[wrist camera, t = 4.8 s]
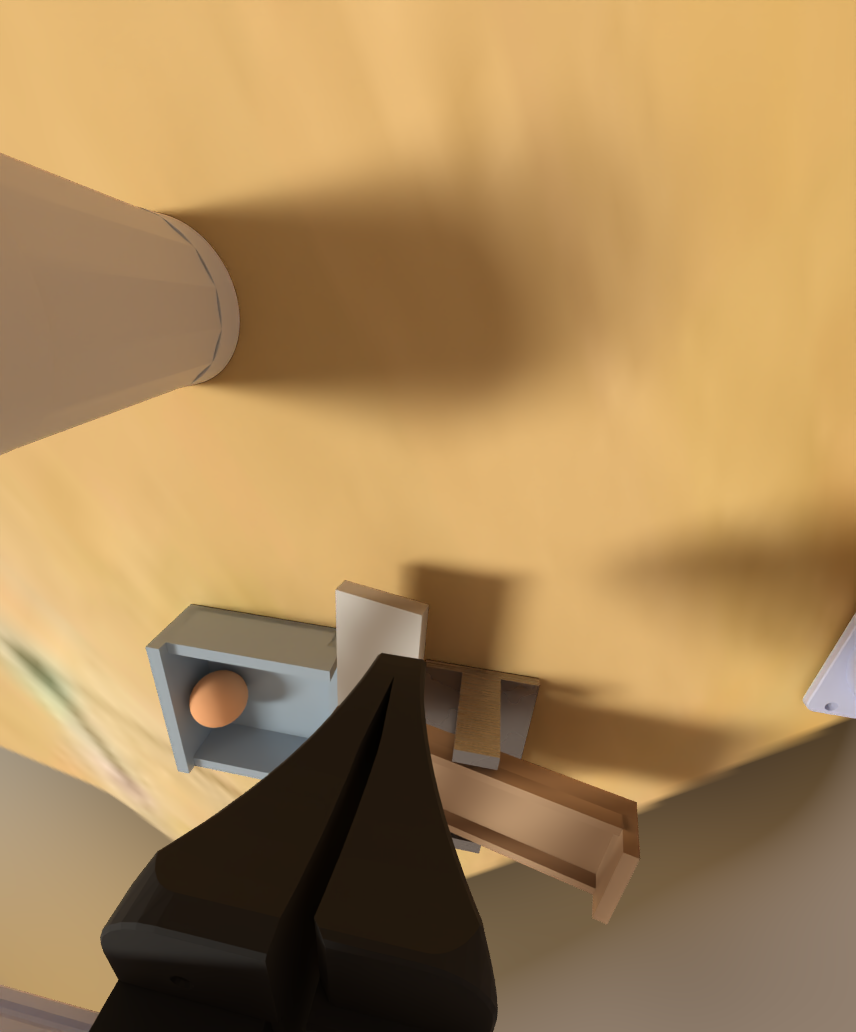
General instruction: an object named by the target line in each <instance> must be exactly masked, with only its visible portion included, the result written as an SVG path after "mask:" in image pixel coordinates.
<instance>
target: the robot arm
mask: <svg viewBox="0 0 856 1032" xmlns="http://www.w3.org/2000/svg"><path fill="white" fill-rule="evenodd" d="M426 664H427V663H426V662H425V661H424V660H423V659H417V658H411V657H405V656H398V655H392V654H386V653H381V654H379V655H378V656H377V657H376V659H375V660H374V662H373V663H372V665H371V666H370V668H369V669H368V670H367V672H366V673H365V674H364V676H363V677H362V678H361V680H360V681H359V682H358V684H357V685H356V686H355V687H354V689H353V690H352V691H351V692H350V693H349V695H348V696H347V697H346V698H345V699H344V701H343V702H342V703H341V704H340V705H339V706H338V708H337V709H336V710H335V711H334V712H333V713H332V714H331V715H330V716H329V717H328V718H327V720H326V721H325V722H324V723H323V724H322V725H321V726H320V727H319V728H318V729H317V730H316V731H315V732H314V733H313V734H312V735H311V736H310V737H309V738H308V739H307V740H306V741H305V742H304V743H303V744H302V745H301V746H300V747H299V748H298V749H297V750H296V751H295V752H293V753H292V754H291V755H290V756H289V757H288V758H287V759H286V760H285V761H284V762H282V763H281V764H280V765H279V766H278V767H276V768H275V769H274V770H273V771H272V772H270V773H269V774H268V775H267V776H266V777H265V778H263V779H262V780H261V781H260V782H258V783H257V784H256V785H255V786H253V787H252V788H251V789H249V790H248V791H247V792H245V793H244V794H243V795H241V796H240V797H239V798H237V799H236V800H234V801H233V802H232V803H230V804H229V805H228V806H226V807H225V808H223V809H222V810H221V811H219V812H218V813H217V814H215V815H214V816H212V817H211V818H209V819H208V820H206V821H205V822H203V823H202V824H200V825H199V826H197V827H195V828H194V829H192V830H191V831H189V832H188V833H186V834H184V835H183V836H181V837H180V838H178V839H177V840H175V841H173V842H172V843H170V844H169V845H167V846H166V847H164V848H162V849H161V850H159V851H158V852H157V853H156V854H155V855H154V857H153V858H152V859H151V861H150V862H149V863H148V864H147V866H146V867H145V868H144V869H143V871H142V872H141V873H140V875H139V876H138V877H137V879H136V880H135V881H134V882H133V884H132V885H131V887H130V888H129V890H128V891H127V893H126V895H125V896H124V898H123V899H122V901H121V902H120V904H119V905H118V907H117V908H116V910H115V911H114V913H113V914H112V916H111V917H110V919H109V921H108V922H107V924H106V925H105V927H104V928H103V930H102V934H101V937H100V938H101V945H102V949H103V952H104V954H105V955H106V957H107V959H108V961H109V963H110V965H111V967H112V968H113V970H114V972H115V974H116V976H117V978H118V982H117V983H116V985H115V987H114V989H113V990H112V992H111V994H110V996H109V997H108V999H107V1001H106V1003H105V1004H104V1006H103V1008H102V1010H101V1011H100V1013H99V1012H95V1011H92V1010H88V1009H84V1008H81V1007H77V1006H74V1005H70V1004H66V1003H63V1002H60V1001H56V1000H52V999H49V998H46V997H42V996H38V995H35V994H31V993H28V992H24V991H20V990H17V989H14V988H10V987H6V986H3V985H0V1032H493V1030H494V1027H495V1023H496V1020H497V1012H498V1011H497V1010H498V1007H497V994H496V986H495V979H494V975H493V969H492V964H491V959H490V955H489V950H488V946H487V941H486V937H485V932H484V928H483V923H482V920H481V917H480V915H479V912H478V910H477V908H476V905H475V902H474V900H473V897H472V895H471V892H470V889H469V886H468V884H467V882H466V878H465V876H464V873H463V870H462V867H461V864H460V861H459V859H458V856H457V853H456V850H455V846H454V843H453V840H452V837H451V833H450V830H449V827H448V824H447V820H446V817H445V814H444V810H443V806H442V802H441V799H440V795H439V791H438V787H437V782H436V778H435V774H434V769H433V764H432V759H431V753H430V747H429V742H428V735H427V727H426V718H425V708H424V690H425V677H426ZM803 703H804V704H805V705H806V707H807V708H808V709H809V710H811V711H814V712H820V713H826V714H832V715H838V716H844V717H850V718H856V613H855V614H854V616H853V618H852V619H851V621H850V622H849V624H848V626H847V627H846V629H845V630H844V632H843V634H842V635H841V637H840V639H839V640H838V642H837V643H836V645H835V647H834V648H833V650H832V652H831V653H830V655H829V656H828V658H827V660H826V661H825V663H824V664H823V666H822V668H821V669H820V671H819V673H818V674H817V676H816V677H815V679H814V681H813V682H812V684H811V686H810V687H809V689H808V690H807V692H806V694H805V695H804V697H803Z"/></svg>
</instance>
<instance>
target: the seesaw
mask: <svg viewBox="0 0 856 1032" xmlns="http://www.w3.org/2000/svg"><path fill="white" fill-rule="evenodd" d="M428 609H429V604H425V603H422V602H419V601H415V600H412V599H408V598H405V597H401V596H398V595H394V594H391V593H388V592H384V591H381V590H377V589H374V588H370V587H367V586H364V585H360V584H357V583H353V582H350V581H346V580H345V581H344V582H343V583H342V584H341V585H340V586H339V587H338V588H337V589H336V640H337V695H338V706H339V705H340V704H341V703H342V702H343V701H344V699H345V698H346V697H347V696H348V695H349V693H350V692H351V691H352V690H353V689H354V687H355V686H356V685H357V684H358V682H359V681H360V680H361V678H362V677H363V676H364V674H365V673H366V672H367V670H368V669H369V668H370V666H371V665H372V663H373V662H374V660H375V659H376V657H377V656H378V655H379V654H381V653H386V654H392V655H398V656H405V657H411V658H417V659H423V660H424V652H425V641H426V630H427V620H428ZM338 706H337V707H336V709H337V708H338ZM336 709H335V710H336ZM335 710H334V711H335ZM334 711H333V712H334ZM426 727H427V735H428V742H429V747H430V753H431V759H432V764H433V769H434V774H435V778H436V782H437V787H438V791H439V795H440V799H441V802H442V806H443V810H444V814H445V817H446V820H447V824H448V827H449V830H450V832H452V833H454V834H456V835H458V836H461V837H463V838H465V839H468V840H470V841H472V842H474V843H477V844H479V845H481V846H483V847H486V848H488V849H490V850H492V851H495V852H497V853H499V854H502V855H504V856H506V857H508V858H511V859H513V860H515V861H517V862H520V863H522V864H524V865H527V866H529V867H531V868H533V869H536V870H538V871H540V872H542V873H545V874H547V875H549V876H552V877H554V878H556V879H558V880H561V881H563V882H565V883H567V884H570V885H572V886H574V887H576V888H579V889H581V890H583V891H586V892H588V893H590V894H592V895H593V914H592V916H593V917H592V918H594V919H596V920H598V921H600V922H602V923H604V924H608V922H609V920H610V917H611V916H612V913H613V911H614V910H615V908H616V906H617V904H618V902H619V900H620V898H621V896H622V894H623V892H624V890H625V888H626V886H627V884H628V882H629V880H630V878H631V876H632V874H633V872H634V870H635V868H636V866H637V864H638V862H639V860H640V850H639V834H638V818H637V802H634V801H632V800H629V799H626V798H624V797H621V796H618V795H616V794H613V793H610V792H607V791H605V790H602V789H599V788H597V787H594V786H591V785H589V784H586V783H583V782H581V781H578V780H575V779H573V778H570V777H567V776H565V775H562V774H559V773H557V772H554V771H551V770H549V769H546V768H543V767H541V766H538V765H535V764H533V763H530V762H527V761H524V760H522V759H519V758H516V757H514V756H511V755H508V754H506V753H503V752H500V761H499V766H498V770H494V769H488V768H483V767H478V766H473V765H468V764H463V763H458V762H452V757H453V748H454V739H455V734H452V733H450V732H447V731H444V730H441V729H439V728H436V727H433V726H431V725H428V724H426Z"/></svg>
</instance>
